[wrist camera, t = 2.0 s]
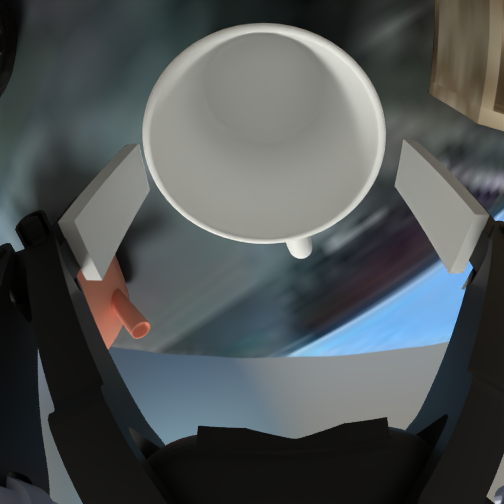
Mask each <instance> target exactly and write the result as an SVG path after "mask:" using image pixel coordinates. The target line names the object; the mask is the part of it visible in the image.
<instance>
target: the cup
mask: <svg viewBox="0 0 504 504" xmlns="http://www.w3.org/2000/svg"><path fill="white" fill-rule="evenodd" d="M142 132H143V147H144V153H145V157H146V161H147V164H148V167H149V170H150V173H151V175H152V177H153V179H154V181H155V183H156V185H157V186H158V188H159V190H160V191H161V192H162V194H163V195H164V196H165V198H166V199H167V200H168V201H169V202H170V204H171V205H172V206H173V207H174V208H175V209H176V210H177V211H178V212H180V213H181V214H182V215H183V216H184V217H186V218H187V219H188V220H190V221H191V222H193V223H194V224H196V225H198V226H199V227H201V228H203V229H205V230H207V231H209V232H211V233H214V234H216V235H219V236H222V237H225V238H228V239H232V240H236V241H241V242H248V243H261V244H268V243H282V242H286V244H287V247H288V249H289V251H290V253H291V254H292V255H293V256H294V257H296V258H299V259H304V258H306V257H308V256H309V255H310V254H311V251H312V242H311V237H310V236H311V235H314V234H316V233H318V232H321V231H323V230H325V229H327V228H329V227H330V226H332V225H334V224H335V223H337V222H338V221H340V220H341V219H342V218H344V217H345V216H346V215H348V214H349V213H350V212H351V211H352V210H353V209H354V208H355V207H356V206H357V205H358V204H359V203H360V202H361V201H362V199H363V198H364V197H365V195H366V194H367V193H368V191H369V190H370V188H371V186H372V185H373V183H374V181H375V179H376V177H377V175H378V172H379V169H380V167H381V164H382V160H383V156H384V150H385V143H386V127H385V119H384V113H383V109H382V106H381V102H380V99H379V97H378V95H377V92H376V90H375V88H374V86H373V84H372V83H371V81H370V79H369V78H368V76H367V75H366V73H365V72H364V71H363V69H362V68H361V67H360V66H359V65H358V64H357V62H356V61H355V60H354V59H353V58H352V57H351V56H349V55H348V54H347V53H346V52H345V51H344V50H343V49H341V48H340V47H338V46H337V45H335V44H334V43H332V42H331V41H329V40H327V39H325V38H323V37H322V36H320V35H317V34H315V33H312V32H310V31H307V30H304V29H301V28H298V27H294V26H289V25H283V24H275V23H252V24H244V25H238V26H233V27H230V28H226V29H222V30H220V31H217V32H215V33H212V34H210V35H208V36H206V37H204V38H202V39H200V40H198V41H196V42H195V43H193V44H192V45H191V46H189V47H188V48H186V49H185V50H184V51H183V52H181V53H180V54H179V55H178V56H177V57H176V58H175V59H174V60H173V61H172V62H171V63H170V64H169V65H168V66H167V67H166V69H165V70H164V71H163V73H162V74H161V76H160V77H159V79H158V80H157V82H156V84H155V86H154V87H153V90H152V92H151V94H150V96H149V99H148V102H147V105H146V109H145V114H144V119H143V130H142Z"/></svg>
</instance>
